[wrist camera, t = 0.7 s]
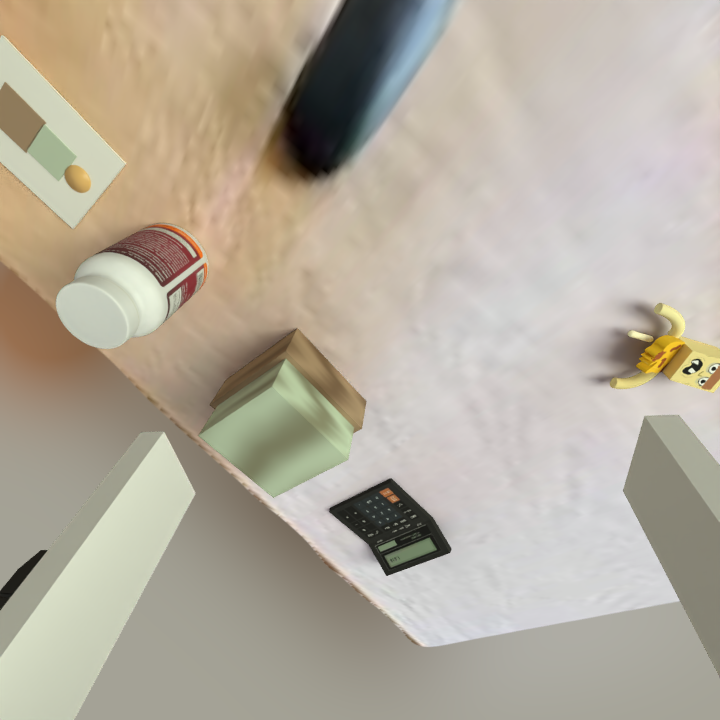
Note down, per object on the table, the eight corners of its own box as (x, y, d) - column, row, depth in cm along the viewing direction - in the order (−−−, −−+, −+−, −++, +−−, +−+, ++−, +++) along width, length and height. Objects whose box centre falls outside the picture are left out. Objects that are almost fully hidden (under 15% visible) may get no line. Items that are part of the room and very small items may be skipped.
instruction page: (-42, 121, 32) (-45, 121, 31) (4, 35, 28) (0, 35, 28) (74, 228, 35) (72, 229, 35) (126, 163, 32) (124, 164, 32)
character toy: (665, 311, 30) (766, 340, 30) (644, 293, 33) (738, 320, 33) (602, 396, 34) (691, 421, 35) (588, 374, 37) (671, 397, 37)
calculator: (391, 476, 47) (389, 497, 45) (450, 532, 51) (452, 554, 49) (330, 506, 51) (326, 527, 49) (389, 555, 55) (388, 577, 53)
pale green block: (226, 379, 42) (190, 434, 35) (297, 328, 38) (271, 379, 31) (294, 442, 46) (273, 502, 39) (366, 401, 41) (356, 461, 35)
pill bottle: (126, 227, 35) (21, 276, 25) (194, 215, 33) (110, 262, 24) (158, 296, 38) (75, 363, 29) (221, 288, 37) (156, 354, 27)
